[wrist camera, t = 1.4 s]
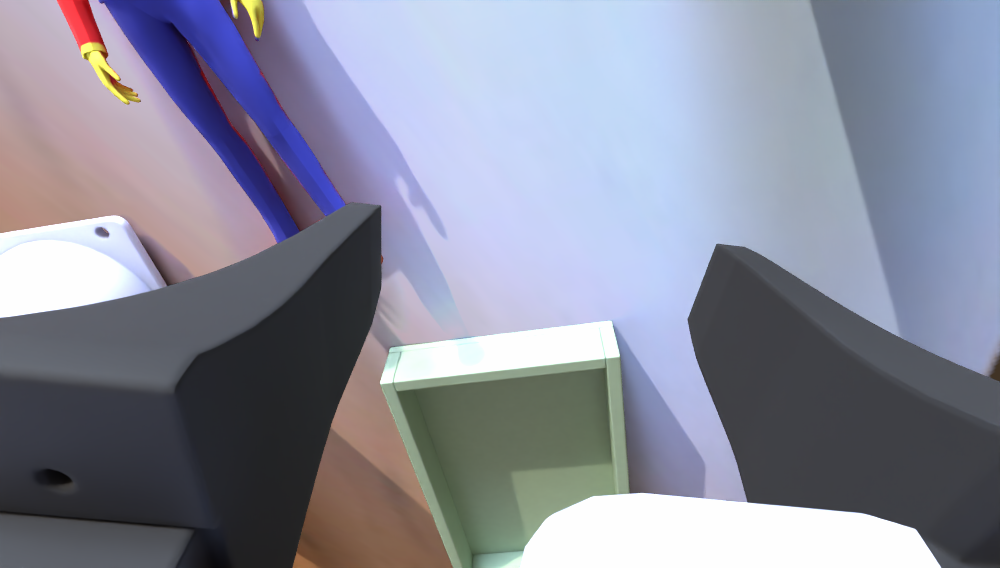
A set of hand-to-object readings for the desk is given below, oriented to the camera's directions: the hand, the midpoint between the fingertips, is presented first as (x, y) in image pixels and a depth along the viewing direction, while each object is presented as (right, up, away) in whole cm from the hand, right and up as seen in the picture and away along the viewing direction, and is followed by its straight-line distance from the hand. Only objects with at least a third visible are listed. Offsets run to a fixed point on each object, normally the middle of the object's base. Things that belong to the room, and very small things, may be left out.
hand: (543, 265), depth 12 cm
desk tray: (0, -10, +18) cm, 20 cm away
